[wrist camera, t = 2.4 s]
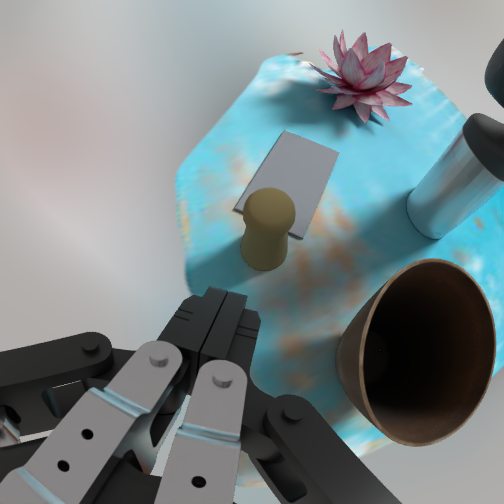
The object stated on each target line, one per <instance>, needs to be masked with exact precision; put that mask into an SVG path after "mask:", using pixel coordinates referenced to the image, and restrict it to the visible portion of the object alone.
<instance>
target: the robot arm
mask: <svg viewBox="0 0 504 504" xmlns="http://www.w3.org/2000/svg"><path fill="white" fill-rule="evenodd" d="M485 85H486V88H487V90H488V91H489V93H490V94H491V95H492V96H493V97H494V99H495V100H496V101H497V102H498V103H499V104H500V105H501V106H502V107H503V108H504V39H503V40H502V42H501V43H500V44H499V46H498V47H497V49H496V50H495V52H494V53H493V55H492V57H491V59H490V61H489V63H488V66H487V68H486V72H485ZM503 186H504V124H502V123H500V122H498V121H496V120H494V119H492V118H490V117H488V116H486V115H484V114H480V113H475V114H473V115H471V116H470V117H469V118H468V120H467V121H466V123H465V124H464V125H463V127H462V128H461V130H460V131H459V132H458V134H457V135H456V137H455V138H454V139H453V141H452V142H451V144H450V145H449V146H448V147H447V149H446V150H445V151H444V153H443V154H442V155H441V157H440V158H439V159H438V161H437V162H436V163H435V164H434V166H433V167H432V168H431V169H430V171H429V172H428V173H427V174H426V176H425V177H424V178H423V179H422V180H421V182H420V183H419V184H418V185H417V186H416V188H415V189H414V190H413V191H412V192H411V194H410V195H409V196H408V198H407V203H406V204H407V212H408V215H409V217H410V219H411V221H412V223H413V225H414V226H415V227H416V228H417V229H418V230H419V231H420V232H421V233H422V234H423V235H425V236H426V237H429V238H431V239H440V238H442V237H443V236H445V235H446V234H447V233H449V232H450V231H451V230H453V229H454V228H455V227H457V226H458V225H459V224H460V223H462V222H463V221H464V220H465V219H466V218H468V217H469V216H470V215H471V214H473V213H474V212H475V211H476V210H477V209H478V208H480V207H481V206H482V205H483V204H484V203H485V202H487V201H488V200H489V199H490V198H491V197H492V196H493V195H494V194H496V193H497V192H498V191H499V190H500V189H501V188H502V187H503ZM246 301H247V296H245V295H241V294H238V293H234V292H230V291H229V292H228V291H226V290H222V289H218V288H215V287H211V286H210V287H209V288H208V289H207V291H206V293H205V294H204V296H203V297H200V296H196V295H192V296H191V297H189V298H187V299H185V300H184V301H183V302H182V304H181V305H180V307H179V308H178V310H177V311H176V312H175V314H174V316H173V317H172V318H171V320H170V321H169V323H168V324H167V325H166V327H165V329H164V330H163V331H162V333H161V334H160V336H159V337H158V339H157V340H156V341H151V342H147V343H145V344H143V345H142V346H141V347H140V348H139V349H138V350H137V351H131V350H122V349H115V348H112V345H111V342H110V340H109V339H108V338H107V337H106V336H105V335H103V334H100V333H97V332H86V333H82V334H78V335H74V336H70V337H65V338H61V339H57V340H53V341H49V342H44V343H40V344H35V345H31V346H26V347H22V348H17V349H12V350H8V351H3V352H0V504H236V503H235V502H233V498H234V491H235V484H236V477H237V470H238V463H239V456H240V450H242V451H244V452H246V453H248V455H249V458H250V460H251V461H252V463H253V464H254V466H255V467H256V469H257V470H258V472H259V473H260V475H261V476H262V478H263V479H264V481H265V482H266V483H267V485H268V486H269V488H270V489H271V490H272V492H273V493H274V495H275V496H276V497H277V498H278V500H279V501H280V503H281V504H402V503H401V502H400V501H399V500H398V499H397V498H396V497H395V496H394V495H393V494H392V493H391V492H390V491H389V490H388V489H387V488H386V487H385V486H384V485H383V484H382V483H381V482H380V481H379V480H378V479H377V478H376V476H375V475H374V474H373V473H372V472H371V471H370V470H369V469H368V468H367V467H366V466H365V465H364V464H363V463H362V462H361V460H360V459H359V458H358V457H357V456H356V455H355V454H354V453H353V452H352V451H351V449H350V448H349V447H348V446H347V445H346V444H345V443H344V442H343V441H342V439H341V438H340V437H339V436H338V435H337V434H336V433H335V431H334V430H333V429H332V428H331V427H330V426H329V424H328V423H327V422H326V421H325V420H324V419H323V417H322V416H321V415H320V414H319V413H318V412H317V410H316V409H315V408H314V407H313V406H312V405H311V404H310V403H309V402H308V401H307V400H305V399H304V398H302V397H299V396H296V395H282V396H279V397H276V398H274V397H272V396H270V395H268V394H266V393H264V392H262V391H261V390H259V389H258V388H257V387H256V386H255V385H254V384H253V382H252V380H251V378H250V374H249V370H250V366H251V361H252V357H253V353H254V349H255V344H256V340H257V336H258V331H259V327H260V323H261V320H260V318H259V315H258V312H256V311H252V310H248V309H245V305H246ZM79 380H81V381H79ZM76 381H79V382H76ZM72 382H75V383H72ZM68 383H71V384H68ZM64 384H68V385H64ZM60 385H64V386H60ZM57 386H60V387H57ZM53 387H56V388H53ZM186 395H190V396H191V398H190V401H189V404H188V407H187V411H186V414H185V417H184V420H183V423H182V425H181V427H179V428H178V430H177V432H176V435H175V438H174V441H173V444H172V447H171V450H170V453H169V457H168V460H167V463H166V466H165V470H164V473H163V476H162V477H160V476H153V475H150V473H151V472H152V470H153V467H154V465H155V462H156V458H157V454H158V451H159V449H160V447H161V446H162V444H163V442H164V440H165V439H166V437H167V435H168V433H169V431H170V429H171V427H172V426H173V424H174V422H175V420H176V419H177V417H178V415H179V413H180V411H181V406H182V404H183V401H184V399H185V397H186ZM52 429H54V430H53V431H52V433H51V434H50V435H49V436H48V437H43V438H39V439H35V440H31V441H27V442H23V443H21V442H20V439H19V437H20V436H25V435H30V434H35V433H40V432H44V431H48V430H52Z"/></svg>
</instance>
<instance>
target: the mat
mask: <svg viewBox="0 0 504 504" xmlns="http://www.w3.org/2000/svg"><path fill="white" fill-rule="evenodd" d="M338 155H339V152H337V151H335V150H332V149H330V148H328V147H325V146H323V145H320V144H318V143H316V142H313V141H311V140H308V139H305V138H303V137H300V136H298V135H295V134H292V133H290V132H287V131H284V132H283V133H282V135H281V136H280V138H279V139H278V141H277V142H276V144H275V145H274V147H273V149H272V150H271V152H270V153H269V155H268V156H267V158H266V159H265V161H264V162H263V164H262V166H261V167H260V169H259V170H258V172H257V174H256V175H255V177H254V178H253V180H252V181H251V183H250V185H249V186H248V188H247V189H246V191H245V193H244V194H243V196H242V198H241V199H240V201H239V202H238V204H237V206H236V207H235V209H236V210H238V211H241V212H243V207H244V204H245V201H246V200H247V198H248V197H249V195H250V194H252V193H253V192H255V191H256V190H259V189H262V188H268V187H272V188H277V189H279V190H281V191H283V192H285V193H286V194H287V195H288V196H289V197H290V198H291V199H292V201H293V203H294V205H295V211H296V217H295V222H294V224H293V226H292V227H291V229H290V230H289V231H288V233H290V234H292V235H294V236H297V237H299V238H301V239H303V237H304V235H305V233H306V230H307V228H308V226H309V224H310V221H311V219H312V217H313V215H314V212H315V210H316V208H317V205H318V203H319V201H320V198H321V196H322V194H323V191H324V189H325V187H326V184H327V182H328V179H329V177H330V175H331V172H332V170H333V167H334V165H335V162H336V160H337V157H338Z"/></svg>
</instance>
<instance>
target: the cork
mask: <svg viewBox="0 0 504 504" xmlns="http://www.w3.org/2000/svg"><path fill="white" fill-rule="evenodd" d="M295 217H296V211H295V205H294V203H293V201H292V199H291V198H290V197H289V196H288V195H287V194H286V193H285V192H283V191H281V190H279V189H277V188H272V187H268V188H262V189H259V190H256V191H255V192H253V193H252V194H250V195H249V197H248V198H247V200H246V201H245V204H244V207H243V220H244V222H245V224H246V229H245V233H244V236H243V240H242V243H241V255H242V257H243V259H244V261H245V262H246V263H247V264H248V265H249V266H250V267H252V268H254V269H256V270H261V271H269V270H272V269H275V268H277V267H278V266H280V265H281V264H282V263H283V261H284V260H285V258H286V255H287V242H288V231H289V230H290V229H291V227H292V226H293V224H294V222H295Z"/></svg>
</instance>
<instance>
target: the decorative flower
mask: <svg viewBox="0 0 504 504" xmlns="http://www.w3.org/2000/svg"><path fill="white" fill-rule="evenodd" d="M333 46H334V47H333V50H334V54H335V58H336V61H337V63H338V65H336V64H335V63H334V62H333V61H332V60H330V59H329V58H328V57H327V56H326V54H325V53H324V52H323V51H322V50H321V49H319V50H320V53H321V55H322V57H323V59H324V60H325V62H326V63H327V65H328V66H329V67H330V68H331V69H332V70H333V71H334V72H335V73H336V74H337V75H338V76H339V77H341V78H342V79H341V78H338V77H335V76H332V75H330V74H327V73H325V72H323V71H321V70H319V69H318V68H316V67H314V66H313V65H311V64H310V63H309V64H310V65H311V66H312V67H313V68H314V69H315V70H316V71H317V72H319V73H320V74H321V75H323V76H325V77H326V78H324V77H323V78H324V79H325V80H327V81H328V82H331V83H333V84H336V85H342V86H337V87H335V86H333V85H331V87H332V88H328V89H320V90H316V91H319V92H323V93H331V94H338V93H341V94H340V95H338V96H337V97H335V98H338V99H337V100H336V102H335V104H334V106H333V108H332V109H333V110H336V109H342V108H345V107H347V106H350V105H352V104H353V105H354V107H355V109H356V111H357V114H358V115H359V117H360V118H361V119H362V120H363V121H364V123H366V122H367V121H368V119H369V116H370V113H371V110H372V111H373V112H375V113H376V114H378V115H380V116H381V117H383V118H384V119H386V120H389V117H388V115H387V113H386V112H385V110H384V108H383V106H382V105H386V106H409V105H412V103H410V102H408V101H406V100H404V99H402V98H400V97H398V96H396V95H399V94H401V93H404V92H405V91H407V90H408V89H410V88H411V87H412V85H408V84H403V83H398V82H395V81H396V80H397V78H398V77H399V76H400V75H401V73H402V71H403V69H404V68H405V64H406V61H407V59H408V58H407V57H406V56H405V57H402V58H398V59H396V60H393V61H390V57H391V44H390V43H387V44H385V45H383V46H381V47H379V48H377V49H375V50H374V51H372V52H370V53H369V54H368V44H367V37H366V33H363V34H362V35H361V36H360V37H359V38H358V39H357V41H356V42H355V44H354V45H353V46H352V48H350V49H349V50H348V52H347V49H346V44H345V40H344V34H343V30H342V32H341V36H340V45H339V43H338V40H337V37H336V36H334V43H333ZM327 78H328V79H327ZM389 121H390V120H389Z"/></svg>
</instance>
